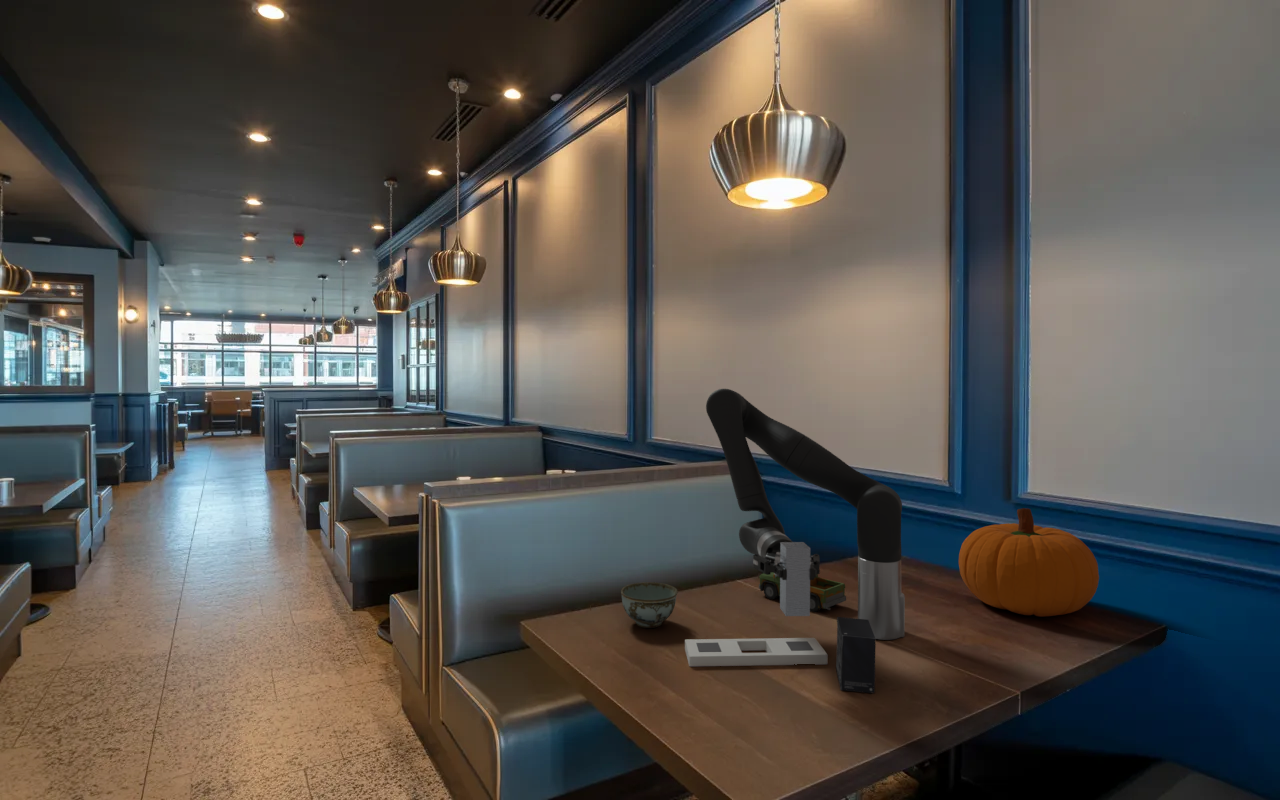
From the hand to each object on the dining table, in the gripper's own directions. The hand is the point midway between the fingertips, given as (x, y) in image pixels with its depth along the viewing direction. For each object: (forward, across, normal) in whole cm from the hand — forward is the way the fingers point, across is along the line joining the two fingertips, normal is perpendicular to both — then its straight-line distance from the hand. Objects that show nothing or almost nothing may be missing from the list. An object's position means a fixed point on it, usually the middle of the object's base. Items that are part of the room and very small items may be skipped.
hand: (798, 574), depth 127 cm
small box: (0, +11, +21) cm, 24 cm away
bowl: (-32, -27, +21) cm, 47 cm away
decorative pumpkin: (-42, +70, +21) cm, 84 cm away
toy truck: (-47, +14, +21) cm, 54 cm away
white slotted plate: (-12, -6, +21) cm, 25 cm away
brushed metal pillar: (-3, 0, +8) cm, 8 cm away
